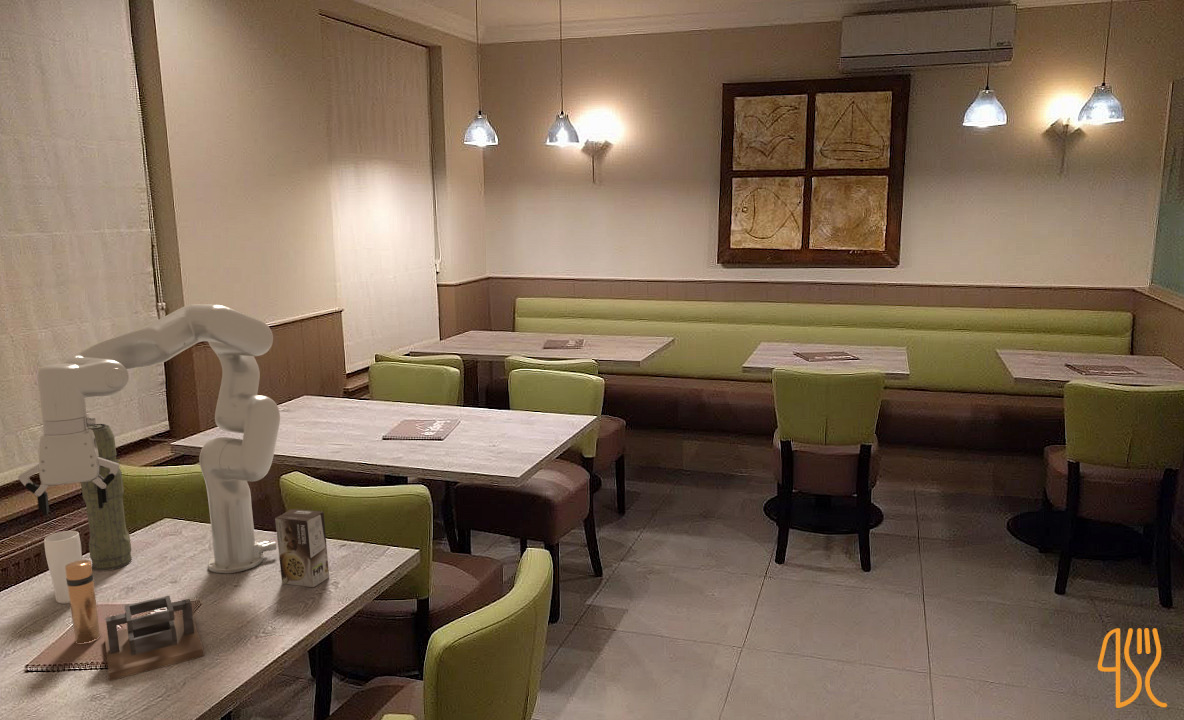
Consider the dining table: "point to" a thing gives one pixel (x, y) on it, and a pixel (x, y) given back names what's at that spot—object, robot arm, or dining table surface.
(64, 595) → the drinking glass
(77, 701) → the dining table surface
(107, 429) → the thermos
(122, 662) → the collar stand
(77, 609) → the tan cylinder
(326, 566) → the coffee box
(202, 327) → the robot arm
